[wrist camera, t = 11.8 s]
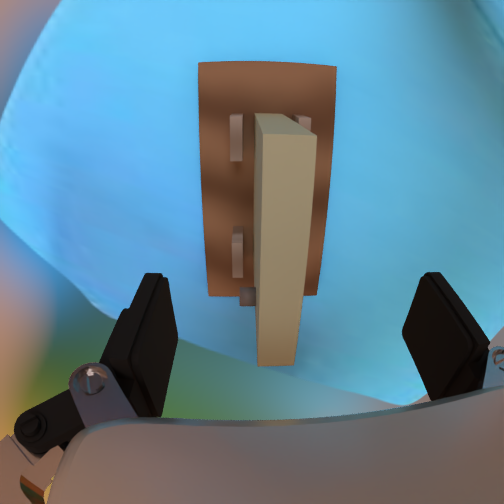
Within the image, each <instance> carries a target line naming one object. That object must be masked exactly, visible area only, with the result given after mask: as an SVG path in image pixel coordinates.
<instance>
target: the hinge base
mask: <svg viewBox="0 0 504 504" xmlns="http://www.w3.org/2000/svg"><path fill="white" fill-rule="evenodd" d="M336 71H337V67H336V66H328V65H318V64H306V63H292V62H270V61H221V62H199V63H198V91H199V137H200V165H201V188H202V207H203V225H204V240H205V255H206V269H207V281H208V294H209V296H240V287H254V268H253V217H254V113H272V114H283V115H285V116H287V117H288V118H290V119H291V120H293V121H295V122H296V123H298V124H299V125H301V126H303V127H304V128H306V129H307V130H309V131H310V132H312V133H313V134H315V135H316V136H317V145H316V162H315V177H314V190H313V203H312V215H311V226H310V237H309V247H308V257H307V266H306V275H305V284H304V293H303V296H312V295H317V290H318V283H319V275H320V268H321V260H322V252H323V244H324V236H325V227H326V218H327V209H328V199H329V188H330V177H331V165H332V151H333V137H334V120H335V100H336Z"/></svg>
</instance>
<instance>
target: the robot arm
mask: <svg viewBox="0 0 504 504" xmlns="http://www.w3.org/2000/svg"><path fill="white" fill-rule="evenodd" d="M402 336H403V339H404V341H405V343H406V345H407V347H408V349H409V352H410V354H411V356H412V358H413V360H414V363H415V365H416V367H417V369H418V372H419V374H420V376H421V379H422V381H423V383H424V386H425V388H426V390H427V393H428V395H429V397H430V400H431V401H429V402H425V403H420V404H415V405H409V406H404V407H398V408H392V409H387V410H380V411H374V412H367V413H358V414H350V415H341V416H331V417H319V418H306V419H289V420H252V421H251V420H240V421H239V420H201V419H182V418H158V417H161V416H162V412H163V407H164V402H165V397H166V393H167V388H168V383H169V378H170V373H171V369H172V365H173V360H174V356H175V351H176V347H177V342H178V332H177V327H176V322H175V316H174V311H173V305H172V300H171V294H170V288H169V282H168V278H167V277H163V275H162V274H161V273H145V275H144V277H143V279H142V281H141V283H140V285H139V288H138V290H137V292H136V294H135V296H134V299H133V301H132V303H131V305H130V308H129V309H126V308H125V309H123V310H122V312H121V314H120V316H119V318H118V320H117V322H116V325H115V327H114V329H113V332H112V334H111V336H110V338H109V340H108V343H107V345H106V347H105V350H104V352H103V354H102V357H101V359H100V362H99V363H96V362H95V363H87V364H83V365H81V366H80V367H78V368H77V369H76V370H75V371H74V372H73V373H72V374H71V376H70V378H69V383H68V385H69V389H68V390H66V391H64V392H62V393H60V394H58V395H56V396H54V397H53V398H51V399H49V400H47V401H45V402H43V403H41V404H39V405H37V406H35V407H33V408H31V409H29V410H27V411H25V412H24V413H22V414H21V415H20V416H19V417H18V419H17V421H16V423H15V426H14V434H13V435H12V436H11V437H10V436H9V435H6V437H4V438H3V439H2V440H1V441H0V504H45V502H44V498H43V497H44V491H45V489H46V488H47V487H48V486H49V485H50V484H51V483H52V486H51V489H50V493H49V497H48V501H47V504H504V347H501V346H496V347H493V348H492V349H491V350H490V351H489V349H488V345H489V344H490V341H489V339H488V338H487V336H486V335H485V333H484V332H483V330H482V329H481V327H480V326H479V324H478V323H477V322H476V320H475V319H474V317H473V316H472V314H471V313H470V312H469V310H468V309H467V307H466V306H465V305H464V303H463V302H462V300H461V299H460V298H459V296H458V295H457V294H456V292H455V291H454V290H453V288H452V287H451V286H450V284H449V283H448V282H447V281H446V279H445V278H444V277H443V275H442V274H441V273H440V272H427V273H425V274H424V276H422V277H421V278H420V281H419V284H418V287H417V290H416V293H415V296H414V299H413V302H412V304H411V307H410V310H409V313H408V315H407V318H406V321H405V323H404V326H403V329H402ZM54 475H55V476H54ZM53 476H54V479H53V481H52V480H51V478H52V477H53Z"/></svg>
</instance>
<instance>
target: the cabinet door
mask: <svg viewBox="0 0 504 504" xmlns="http://www.w3.org/2000/svg"><path fill="white" fill-rule="evenodd" d="M316 145H317V136H316V135H315V134H313V133H312V132H310V131H309V130H307V129H306V128H304V127H303V126H301V125H299V124H298V123H296V122H295V121H293V120H291V119H290V118H288V117H287V116H285V115H283V114H272V113H254V217H253V268H254V287H240V306H255V315H256V339H257V363H258V366H289V365H294V361H295V354H296V347H297V340H298V332H299V325H300V317H301V309H302V301H303V293H304V284H305V275H306V266H307V257H308V247H309V237H310V226H311V215H312V203H313V190H314V177H315V162H316Z"/></svg>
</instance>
